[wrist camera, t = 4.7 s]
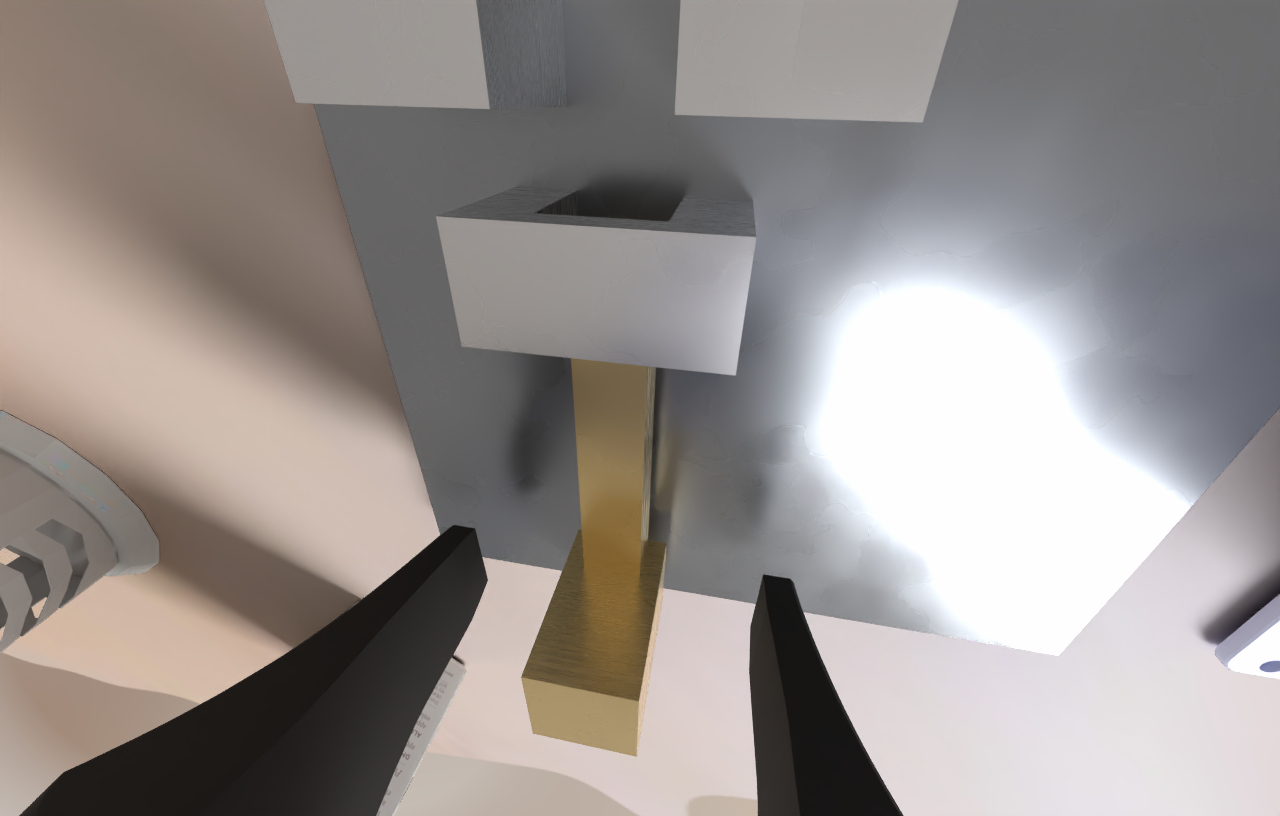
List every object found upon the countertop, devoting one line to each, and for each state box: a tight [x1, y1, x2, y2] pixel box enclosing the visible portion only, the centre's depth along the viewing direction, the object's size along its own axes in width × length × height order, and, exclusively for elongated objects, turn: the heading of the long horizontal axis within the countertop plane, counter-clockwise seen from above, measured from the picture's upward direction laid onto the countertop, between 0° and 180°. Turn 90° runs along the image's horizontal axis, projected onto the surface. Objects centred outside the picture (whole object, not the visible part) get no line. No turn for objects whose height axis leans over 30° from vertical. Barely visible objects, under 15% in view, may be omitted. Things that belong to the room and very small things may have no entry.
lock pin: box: [521, 358, 667, 756], centre depth 10 cm, size 2×10×4 cm, turn 179°
